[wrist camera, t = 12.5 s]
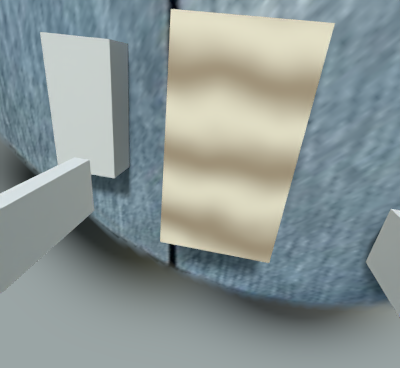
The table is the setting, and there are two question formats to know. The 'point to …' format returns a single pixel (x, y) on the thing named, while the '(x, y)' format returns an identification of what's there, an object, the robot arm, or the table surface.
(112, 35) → the table surface
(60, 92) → the rubber block
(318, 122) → the table surface
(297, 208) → the table surface
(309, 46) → the board
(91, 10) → the table surface
